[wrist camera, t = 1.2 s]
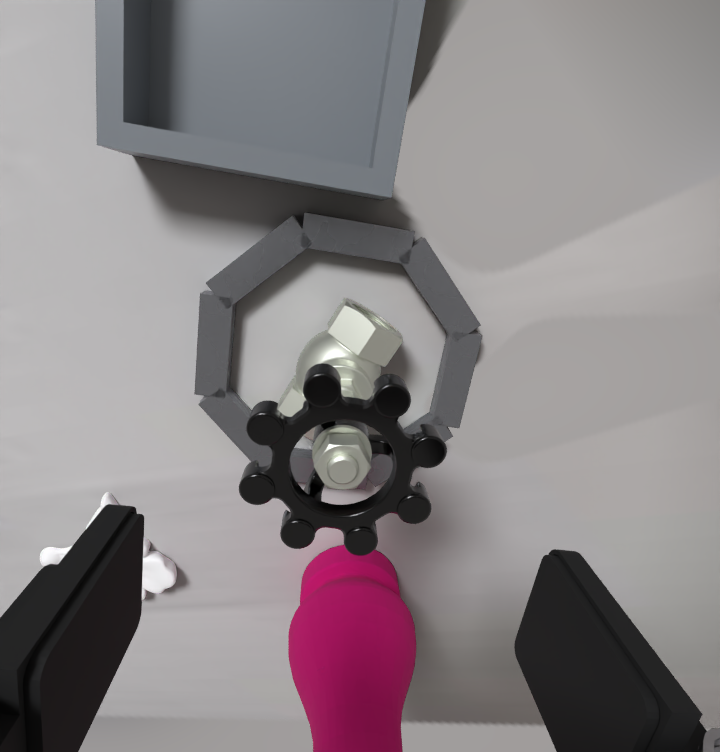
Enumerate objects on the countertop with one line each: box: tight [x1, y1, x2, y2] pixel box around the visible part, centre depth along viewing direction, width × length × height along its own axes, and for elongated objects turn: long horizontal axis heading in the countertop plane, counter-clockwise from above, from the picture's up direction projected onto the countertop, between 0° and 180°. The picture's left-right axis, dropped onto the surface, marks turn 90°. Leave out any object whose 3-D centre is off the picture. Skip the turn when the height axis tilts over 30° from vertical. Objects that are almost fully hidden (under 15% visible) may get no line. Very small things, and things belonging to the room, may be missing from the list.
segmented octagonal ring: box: [195, 212, 482, 489], centre depth 25 cm, size 15×15×1 cm
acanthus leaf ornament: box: [40, 492, 177, 600], centre depth 29 cm, size 8×7×2 cm
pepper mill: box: [289, 545, 416, 752], centre depth 21 cm, size 7×7×20 cm
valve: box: [239, 298, 447, 556], centre depth 20 cm, size 7×7×12 cm
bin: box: [95, 0, 426, 200], centre depth 19 cm, size 13×12×4 cm
